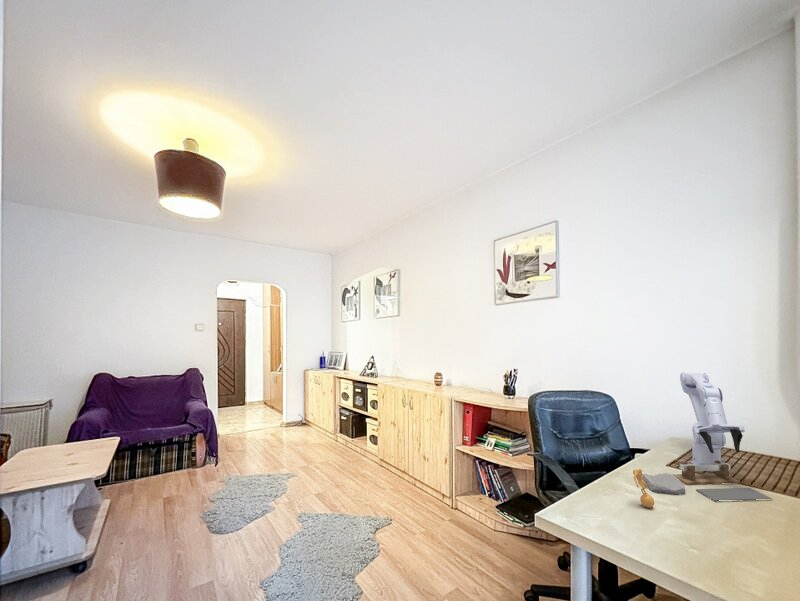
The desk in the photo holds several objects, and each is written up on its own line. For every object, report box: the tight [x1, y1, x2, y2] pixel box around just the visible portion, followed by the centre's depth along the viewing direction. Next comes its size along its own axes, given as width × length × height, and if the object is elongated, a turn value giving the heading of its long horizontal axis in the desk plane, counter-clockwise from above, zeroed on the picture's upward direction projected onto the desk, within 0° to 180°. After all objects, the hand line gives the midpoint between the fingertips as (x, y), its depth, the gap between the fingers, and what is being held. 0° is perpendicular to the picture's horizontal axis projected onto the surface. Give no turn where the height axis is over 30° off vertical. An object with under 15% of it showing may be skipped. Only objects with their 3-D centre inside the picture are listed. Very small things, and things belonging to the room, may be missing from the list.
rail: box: [679, 462, 731, 472], centre depth 148 cm, size 18×2×2 cm, turn 91°
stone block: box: [642, 472, 686, 495], centre depth 142 cm, size 12×5×10 cm
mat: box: [695, 487, 773, 502], centre depth 136 cm, size 8×20×1 cm, turn 91°
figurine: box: [632, 468, 655, 508], centre depth 130 cm, size 8×6×12 cm
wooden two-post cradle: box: [672, 460, 740, 486], centre depth 148 cm, size 20×7×6 cm, turn 91°
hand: (724, 451), depth 142 cm, fingers open, 7 cm apart
